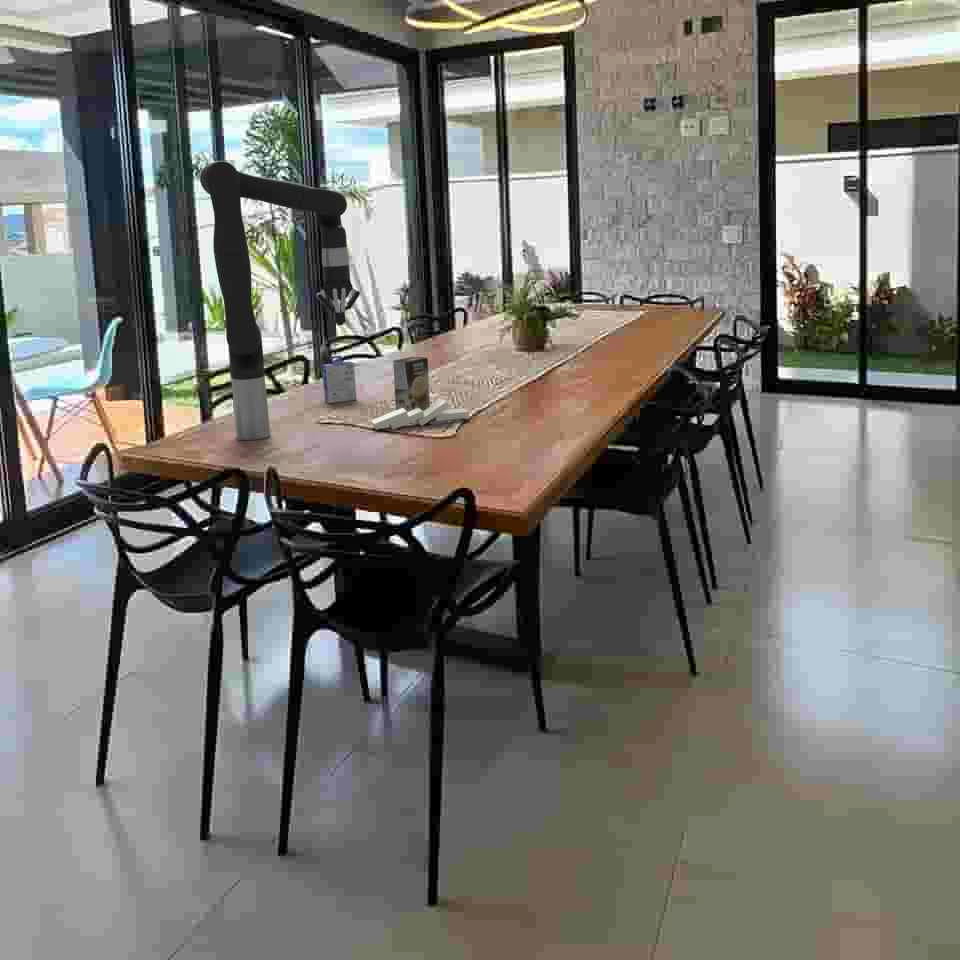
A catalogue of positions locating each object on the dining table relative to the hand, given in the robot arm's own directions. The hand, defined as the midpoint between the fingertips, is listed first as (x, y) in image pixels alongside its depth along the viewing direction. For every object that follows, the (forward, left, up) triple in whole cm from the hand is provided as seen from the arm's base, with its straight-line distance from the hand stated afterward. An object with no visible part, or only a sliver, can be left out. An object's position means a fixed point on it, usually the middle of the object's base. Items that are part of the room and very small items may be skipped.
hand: (340, 325), depth 316 cm
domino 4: (+23, -11, -27) cm, 37 cm away
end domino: (+21, -12, -29) cm, 38 cm away
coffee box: (+22, +8, -29) cm, 37 cm away
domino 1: (+5, -12, -28) cm, 31 cm away
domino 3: (+18, -12, -28) cm, 36 cm away
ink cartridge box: (+5, +36, -29) cm, 47 cm away
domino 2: (+10, -12, -28) cm, 32 cm away
